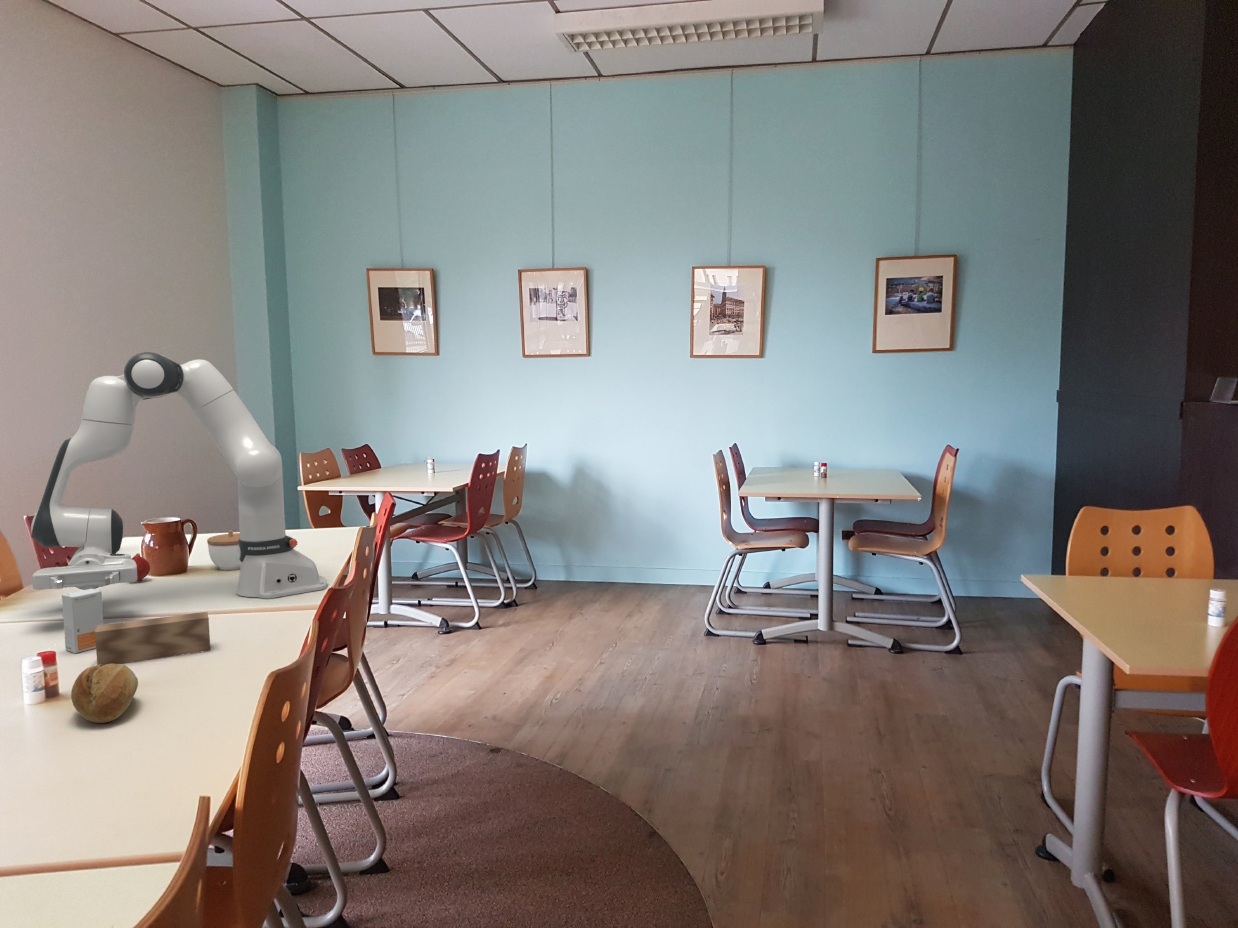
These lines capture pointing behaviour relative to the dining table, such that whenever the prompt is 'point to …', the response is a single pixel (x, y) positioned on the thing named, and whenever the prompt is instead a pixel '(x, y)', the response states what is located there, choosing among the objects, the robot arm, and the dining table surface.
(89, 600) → the skincare box
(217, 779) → the dining table surface
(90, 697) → the bread roll
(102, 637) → the ridge
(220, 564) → the lidded bowl
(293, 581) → the robot arm
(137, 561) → the onion
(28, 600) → the dining table surface
